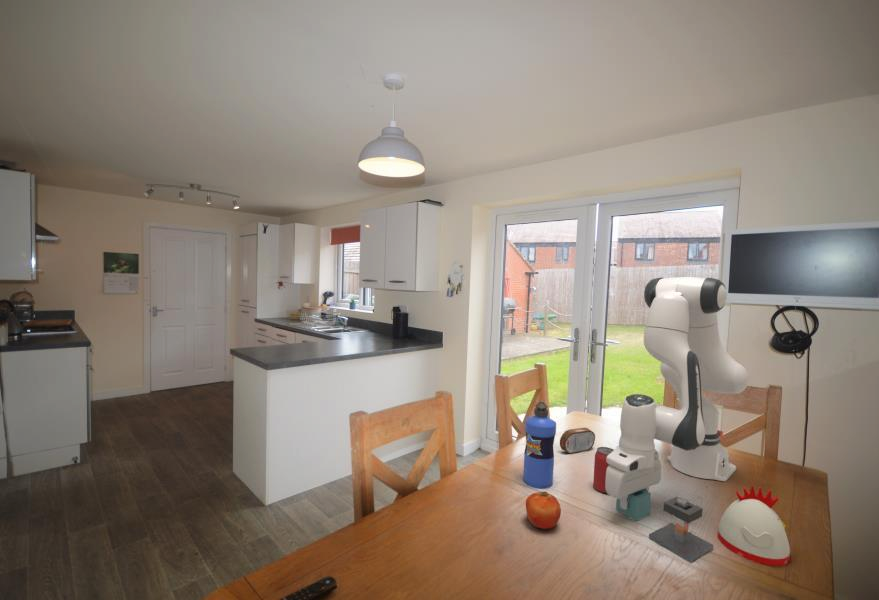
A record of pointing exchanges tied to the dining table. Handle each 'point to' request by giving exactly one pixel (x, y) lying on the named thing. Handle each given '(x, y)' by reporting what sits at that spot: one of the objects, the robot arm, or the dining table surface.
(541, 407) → the water bottle
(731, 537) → the kitchen timer
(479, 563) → the dining table surface
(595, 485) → the beer can
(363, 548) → the dining table surface
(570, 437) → the tin
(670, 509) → the ring
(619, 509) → the sleeve
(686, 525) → the pipe stand
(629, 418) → the robot arm
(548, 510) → the tomato
